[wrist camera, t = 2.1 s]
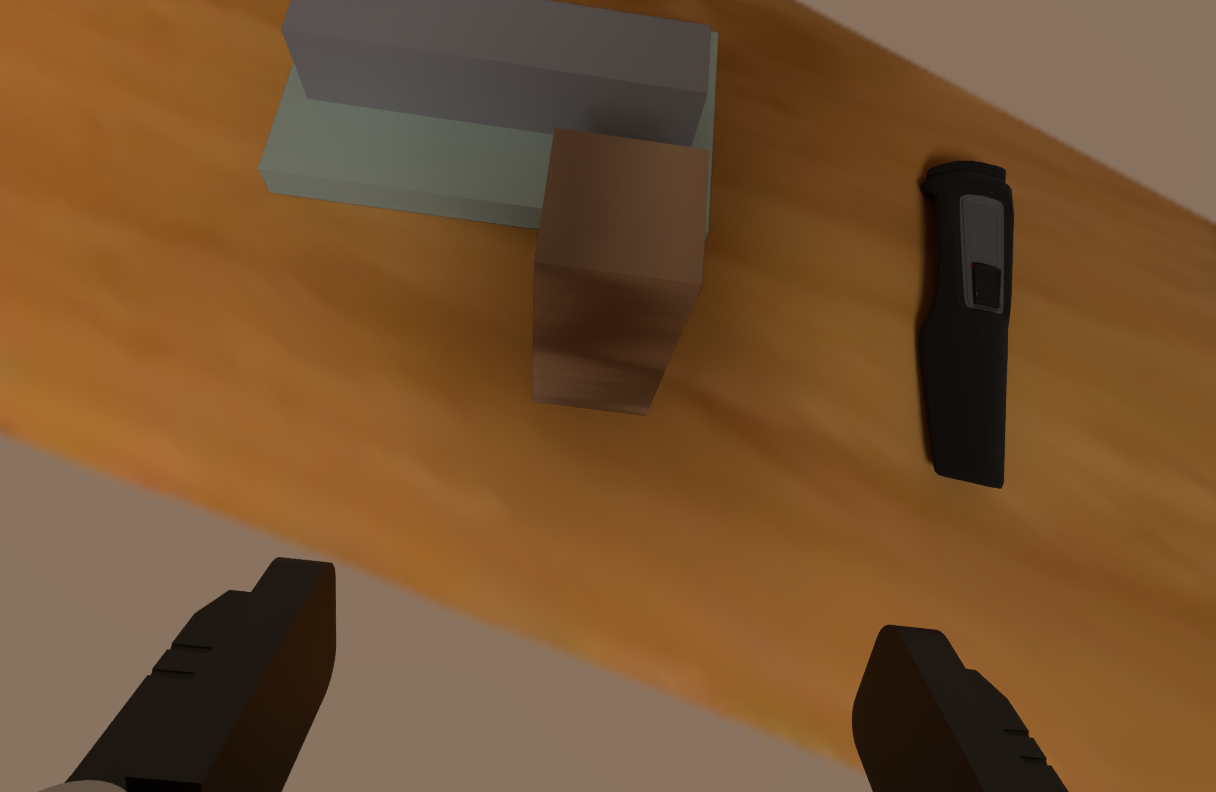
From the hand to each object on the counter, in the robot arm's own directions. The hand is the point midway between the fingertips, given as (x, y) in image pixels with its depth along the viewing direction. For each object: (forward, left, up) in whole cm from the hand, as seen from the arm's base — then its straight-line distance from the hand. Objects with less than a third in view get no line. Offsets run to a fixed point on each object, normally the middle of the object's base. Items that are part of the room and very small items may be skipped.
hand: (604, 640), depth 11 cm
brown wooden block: (0, -12, -15) cm, 19 cm away
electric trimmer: (-15, -15, -16) cm, 27 cm away
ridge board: (+5, -23, -15) cm, 28 cm away
